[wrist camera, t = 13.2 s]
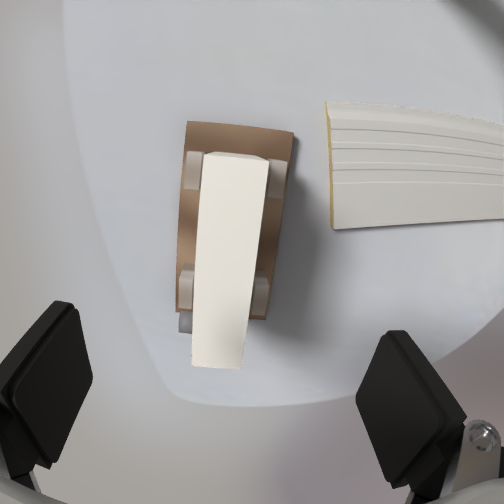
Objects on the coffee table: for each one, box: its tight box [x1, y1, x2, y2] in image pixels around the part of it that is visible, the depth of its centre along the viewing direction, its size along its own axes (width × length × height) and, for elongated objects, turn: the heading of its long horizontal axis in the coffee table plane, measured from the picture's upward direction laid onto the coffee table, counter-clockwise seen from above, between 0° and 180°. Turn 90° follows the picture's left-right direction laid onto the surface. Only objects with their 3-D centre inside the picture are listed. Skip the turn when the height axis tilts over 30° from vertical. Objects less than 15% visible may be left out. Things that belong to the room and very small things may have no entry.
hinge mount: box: [176, 121, 294, 320], centre depth 23 cm, size 16×8×4 cm, turn 173°
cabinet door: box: [179, 152, 269, 370], centre depth 20 cm, size 12×4×9 cm, turn 173°
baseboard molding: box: [326, 101, 504, 229], centre depth 23 cm, size 31×3×12 cm
